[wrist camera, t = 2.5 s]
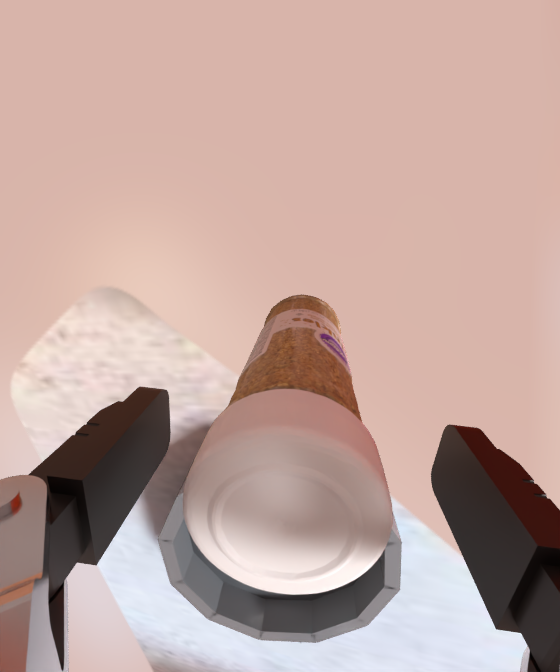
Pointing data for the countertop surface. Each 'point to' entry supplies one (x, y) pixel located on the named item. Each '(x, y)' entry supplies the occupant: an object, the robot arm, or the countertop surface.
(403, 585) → the countertop surface
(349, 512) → the sprinkles bottle
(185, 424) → the countertop surface
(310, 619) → the grey ring dish
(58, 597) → the robot arm
